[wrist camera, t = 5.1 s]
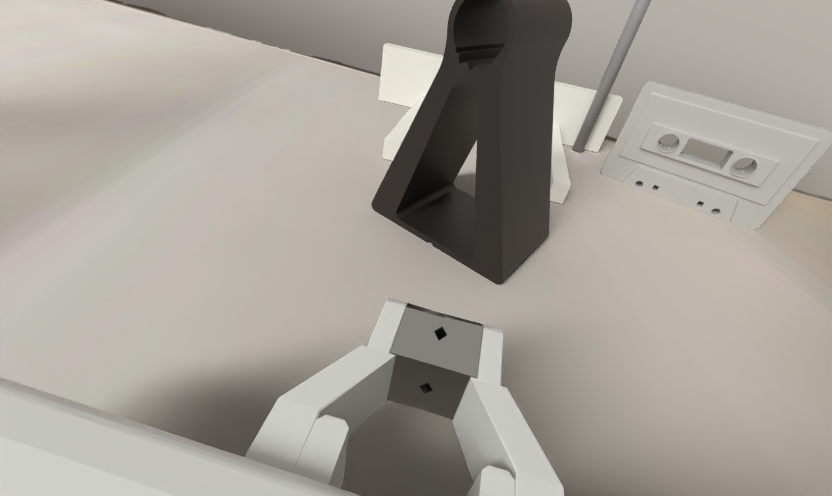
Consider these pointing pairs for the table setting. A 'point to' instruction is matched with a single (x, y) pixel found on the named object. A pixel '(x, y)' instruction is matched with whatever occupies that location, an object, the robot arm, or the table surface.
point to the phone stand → (484, 137)
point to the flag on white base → (572, 114)
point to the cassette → (704, 180)
